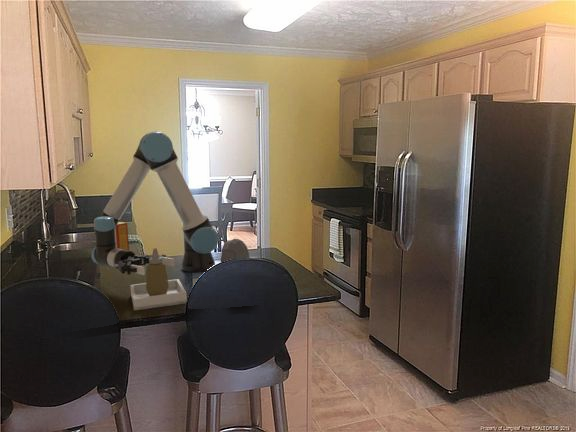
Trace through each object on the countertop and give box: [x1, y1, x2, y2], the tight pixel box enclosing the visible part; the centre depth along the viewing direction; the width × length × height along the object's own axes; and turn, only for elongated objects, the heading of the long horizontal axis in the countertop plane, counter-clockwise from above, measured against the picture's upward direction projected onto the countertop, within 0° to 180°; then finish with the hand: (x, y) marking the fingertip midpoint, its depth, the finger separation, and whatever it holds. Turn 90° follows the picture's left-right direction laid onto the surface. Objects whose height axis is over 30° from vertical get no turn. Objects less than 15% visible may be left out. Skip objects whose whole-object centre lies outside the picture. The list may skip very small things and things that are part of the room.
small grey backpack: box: [220, 238, 250, 263], centre depth 178 cm, size 15×8×20 cm, turn 157°
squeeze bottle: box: [145, 247, 169, 296], centre depth 168 cm, size 8×8×18 cm
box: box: [129, 278, 188, 311], centre depth 169 cm, size 18×18×4 cm
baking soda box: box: [115, 221, 130, 251], centre depth 246 cm, size 10×6×16 cm
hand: (159, 266), depth 166 cm, fingers open, 13 cm apart
